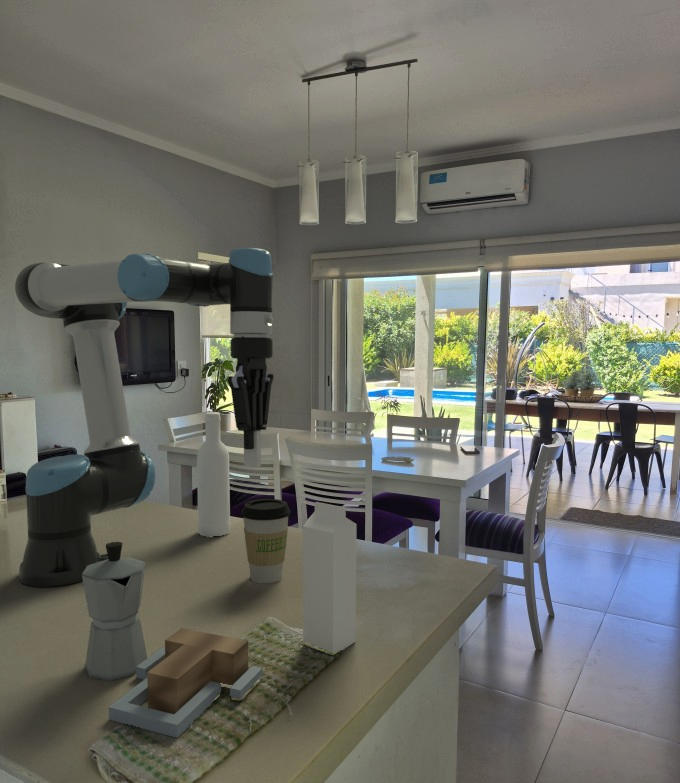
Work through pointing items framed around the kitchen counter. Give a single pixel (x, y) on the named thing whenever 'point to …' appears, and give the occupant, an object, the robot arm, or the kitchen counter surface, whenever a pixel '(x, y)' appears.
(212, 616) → the kitchen counter surface
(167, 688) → the t block
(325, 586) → the milk
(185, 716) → the t bay
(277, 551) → the coffee cup
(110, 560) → the coffee maker
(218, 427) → the bottle
